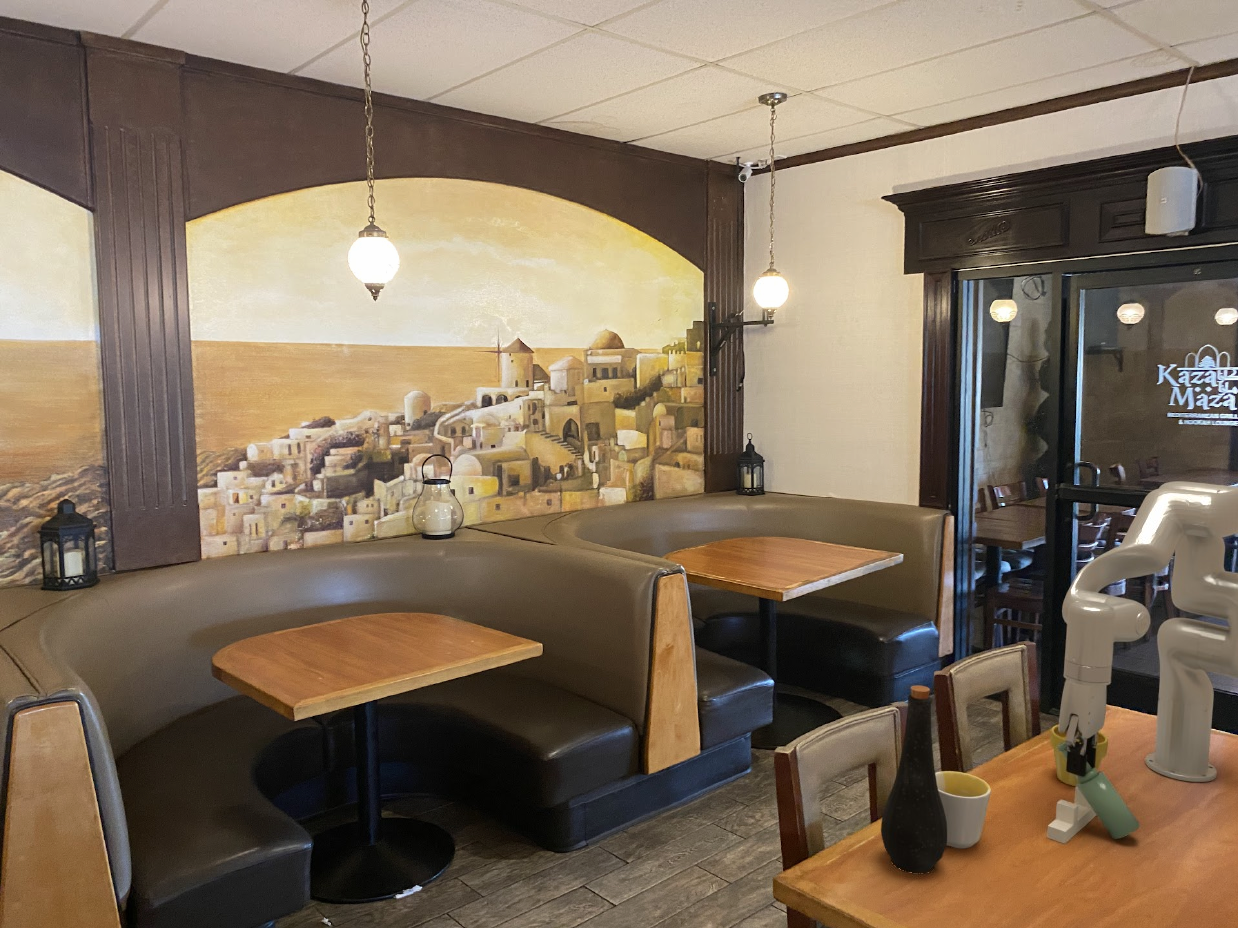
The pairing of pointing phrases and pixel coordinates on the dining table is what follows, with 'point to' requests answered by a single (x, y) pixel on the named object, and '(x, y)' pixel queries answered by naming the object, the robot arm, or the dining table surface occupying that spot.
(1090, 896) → the dining table surface
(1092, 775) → the green bottle
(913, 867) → the bottle
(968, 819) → the mug
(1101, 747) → the plant pot
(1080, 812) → the u rest
